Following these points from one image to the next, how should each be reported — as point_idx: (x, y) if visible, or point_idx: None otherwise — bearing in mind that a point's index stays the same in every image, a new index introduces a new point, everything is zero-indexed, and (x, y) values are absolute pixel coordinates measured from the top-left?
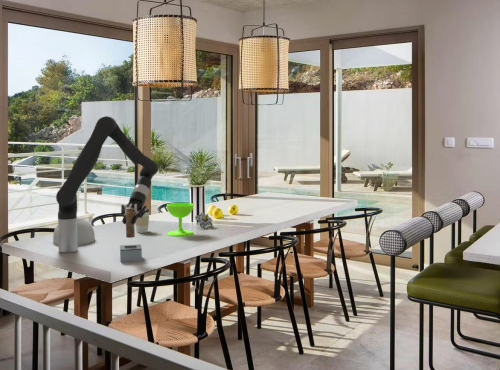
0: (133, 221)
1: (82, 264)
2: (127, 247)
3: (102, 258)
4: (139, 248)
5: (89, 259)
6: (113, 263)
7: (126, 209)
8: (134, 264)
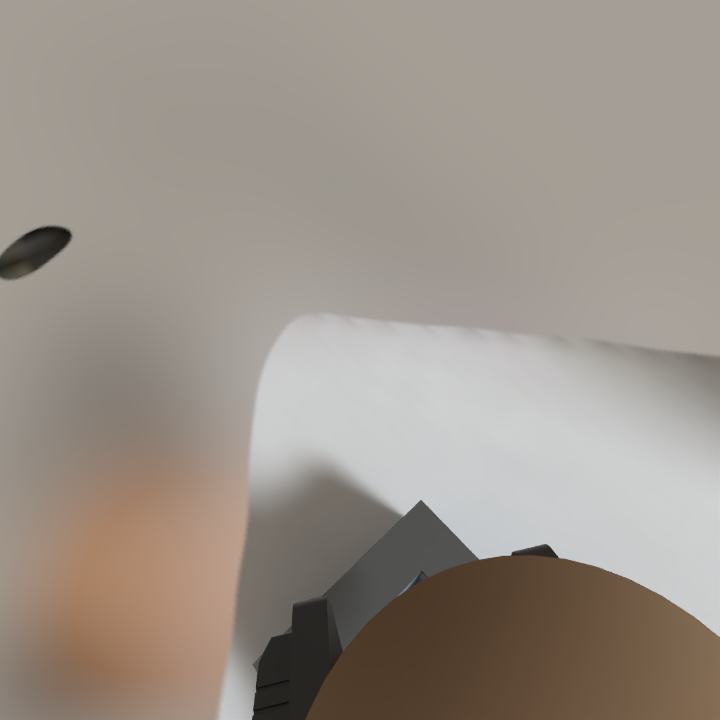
0: (284, 644)
1: (590, 343)
2: None
3: (651, 551)
4: None
5: (699, 469)
6: (433, 465)
7: (556, 565)
8: (269, 520)
